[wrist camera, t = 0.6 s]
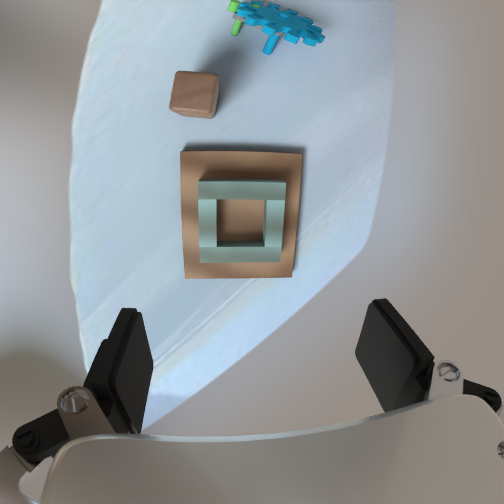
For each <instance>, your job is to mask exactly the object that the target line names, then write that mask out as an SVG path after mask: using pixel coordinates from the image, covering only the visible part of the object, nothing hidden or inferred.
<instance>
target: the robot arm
mask: <svg viewBox="0 0 504 504" xmlns="http://www.w3.org/2000/svg"><path fill="white" fill-rule="evenodd" d="M355 355H356V358H357V360H358V362H359V364H360V366H361V367H362V369H363V371H364V373H365V375H366V377H367V379H368V381H369V383H370V385H371V387H372V388H373V390H374V392H375V394H376V396H377V398H378V400H379V402H380V404H381V406H382V408H383V410H384V411H385V413H382V414H378V415H374V416H370V417H366V418H362V419H358V420H354V421H349V422H344V423H340V424H334V425H330V426H323V427H318V428H312V429H306V430H298V431H290V432H283V433H273V434H262V435H248V436H231V437H230V436H228V437H181V436H180V437H179V436H158V435H142V434H140V433H141V429H142V423H143V417H144V412H145V406H146V401H147V396H148V391H149V386H150V381H151V377H152V372H153V359H152V355H151V351H150V347H149V343H148V339H147V335H146V331H145V326H144V322H143V318H142V314H141V312H137V310H136V308H122V309H121V311H120V313H119V315H118V317H117V319H116V321H115V323H114V326H113V328H112V330H111V332H110V334H109V337H108V339H104V340H103V341H102V343H101V345H100V347H99V349H98V352H97V354H96V356H95V358H94V361H93V363H92V365H91V368H90V370H89V373H88V375H87V378H86V380H85V382H84V385H83V387H82V386H72V387H68V388H67V389H65V390H63V392H62V393H60V395H59V397H58V399H57V409H55V410H53V411H51V412H49V413H48V414H45V415H43V416H41V417H39V418H37V419H35V420H33V421H31V422H29V423H27V424H25V425H23V426H21V427H19V428H18V429H17V430H16V432H15V433H14V435H13V441H12V443H13V445H12V446H11V447H10V448H9V447H8V446H6V447H5V448H4V449H3V450H2V451H1V452H0V504H504V403H503V405H502V402H501V398H500V395H499V394H498V393H497V392H496V391H495V390H494V389H491V388H489V387H486V386H483V385H480V384H477V383H474V382H471V381H468V380H465V379H463V372H462V370H461V368H460V367H459V366H458V365H457V364H456V363H454V362H452V361H449V360H440V361H438V362H437V363H436V364H435V363H434V362H433V360H434V356H433V355H432V353H431V352H430V351H429V350H428V348H427V347H426V346H425V345H424V343H423V342H422V341H421V340H420V338H419V337H418V336H417V335H416V333H415V332H414V331H413V330H412V329H411V327H410V326H409V325H408V323H407V322H406V321H405V320H404V319H403V317H402V316H401V315H400V314H399V313H398V311H397V310H396V309H395V308H394V307H393V306H392V304H391V303H390V302H389V301H388V300H387V299H385V298H384V299H375V300H373V301H372V303H370V304H369V306H368V309H367V313H366V317H365V320H364V324H363V327H362V330H361V334H360V337H359V340H358V344H357V347H356V350H355Z"/></svg>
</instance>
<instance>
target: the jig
mask: <svg viewBox="0 0 504 504" xmlns="http://www.w3.org/2000/svg"><path fill="white" fill-rule="evenodd" d="M302 155H303V154H298V153H283V152H263V151H181V152H180V173H181V214H182V237H183V254H184V269H185V279H208V278H285V277H292V271H293V261H294V252H295V242H296V231H297V220H298V209H299V197H300V184H301V170H302Z"/></svg>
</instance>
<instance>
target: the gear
mask: <svg viewBox="0 0 504 504" xmlns="http://www.w3.org/2000/svg"><path fill="white" fill-rule="evenodd" d="M239 4H240V5H239ZM262 5H263V3H262V2H259V1H252V2H251V4H250V3H248V2H241V3H240V2H239V1H237V0H231V1H230V4H229V7H228V11H231V12H235V13H234V16H233V18H234V19H236V21H235V24H234V27H233V30H232V33H231V34H232V35H237V34H238V31H239V29H240V26H241V23H242V22H244V23H246V24H247V25H250V26H255V27H257V28H260V29H262V32H264V33H266V34H268V35H270V36H269V38H268V40H267V42H266V45H265V47H264V49H263V53H264V54H267V55H270V54H271V52H272V50H273V48H274V46H275V44H276V42H277V40H278V38H279V36H282V35H283V34H284V33H286V36H285V38H284V39H285V40H287V41H289V42H292V43H295V44H296V43H297V42H298V40H299V38H300V37H302V38H303V39H304V40H303V42H304V43H305V44H306V45H310V46H315V45H316V43H322V42H323V40H324V38H325V36H324V35H322V34H321V33H322V29H321V28H320V27H317V26H314V25H312V24H313V21H312V20H310V19H309V18H306V17H298V16H297V14H298V13H297V12H295V11H293V10H291V9H287V10H286V11H284V10H278V9H279V7H280V6H278V5H276V4H273V3H269V5H268V7H264V6H262ZM238 6H239V7H238Z"/></svg>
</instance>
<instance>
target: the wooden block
mask: <svg viewBox="0 0 504 504" xmlns="http://www.w3.org/2000/svg"><path fill="white" fill-rule="evenodd" d="M218 95H219V78H218V75H216V74H213V73H203V72H192V71H178V72H176V74H175V78H174V83H173V88H172V94H171V100H170V105H169V108H170V110H171V111H173V112H176V113H178V114H180V115H182V116H189V117H199V118H208V119H212V118H214V116H215V112H216V106H217V100H218Z"/></svg>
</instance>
